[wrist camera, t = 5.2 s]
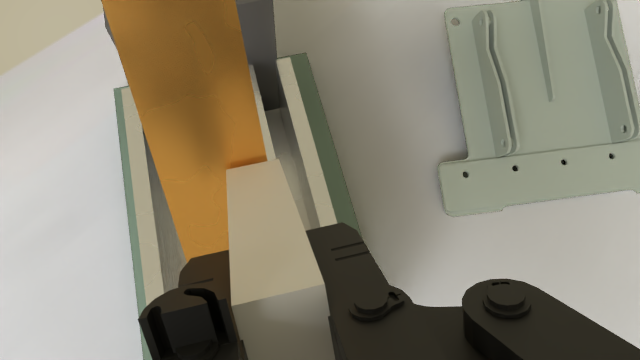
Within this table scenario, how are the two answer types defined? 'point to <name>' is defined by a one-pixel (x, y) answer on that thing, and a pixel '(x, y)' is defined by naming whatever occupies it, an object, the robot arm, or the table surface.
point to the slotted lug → (256, 46)
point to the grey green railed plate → (324, 151)
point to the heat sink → (280, 143)
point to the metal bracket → (541, 104)
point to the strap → (190, 105)
